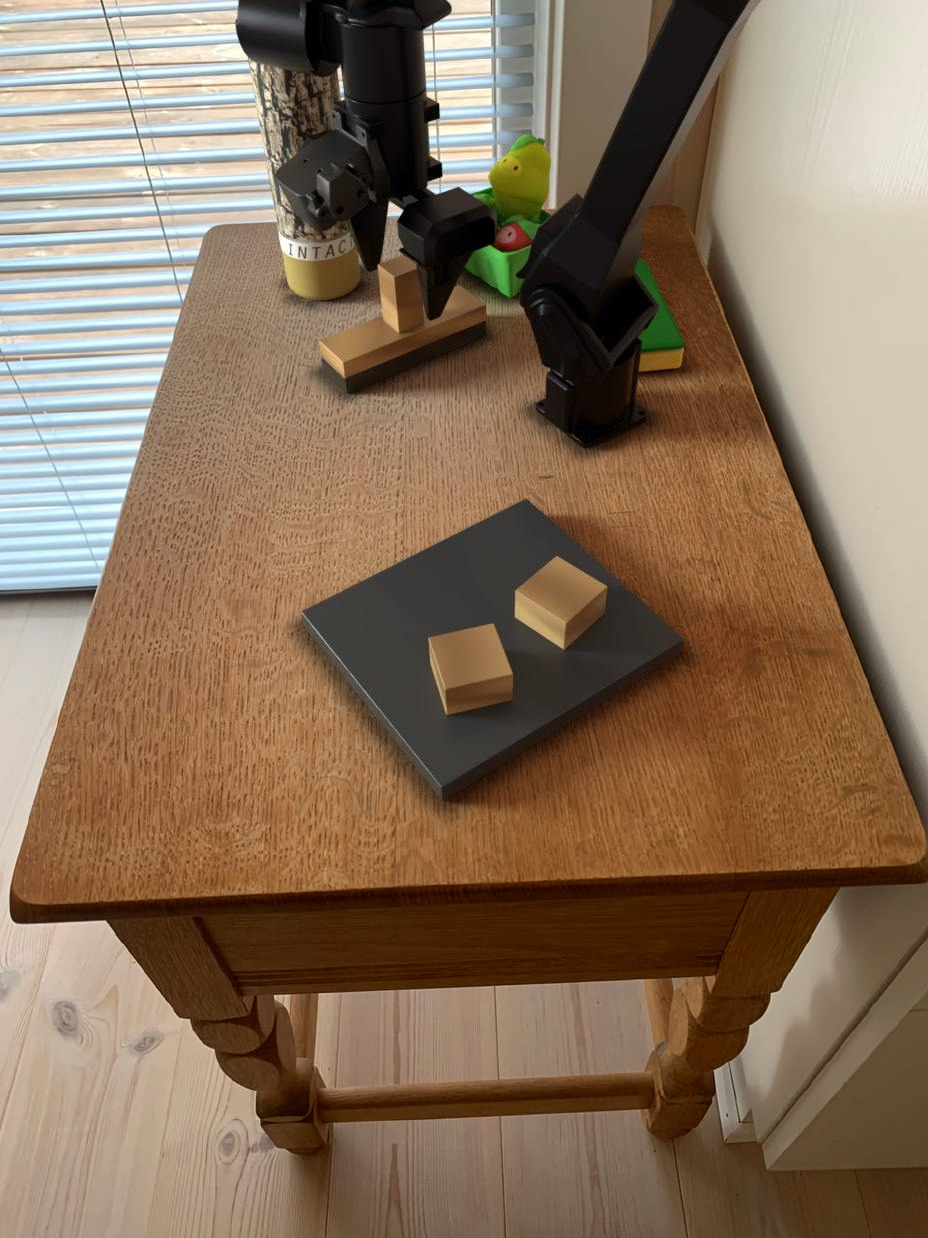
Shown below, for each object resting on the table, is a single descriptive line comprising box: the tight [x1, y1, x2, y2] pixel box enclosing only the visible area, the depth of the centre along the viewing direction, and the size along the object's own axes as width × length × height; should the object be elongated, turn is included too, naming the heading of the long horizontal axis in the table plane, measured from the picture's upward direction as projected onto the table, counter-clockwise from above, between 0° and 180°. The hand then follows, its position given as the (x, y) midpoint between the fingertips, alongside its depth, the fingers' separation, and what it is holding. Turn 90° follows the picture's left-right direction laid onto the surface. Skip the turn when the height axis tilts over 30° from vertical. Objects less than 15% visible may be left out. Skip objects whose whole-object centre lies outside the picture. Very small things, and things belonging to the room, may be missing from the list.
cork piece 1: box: [428, 624, 513, 715], centre depth 57 cm, size 4×4×2 cm
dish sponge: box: [634, 258, 686, 373], centre depth 85 cm, size 7×14×2 cm, turn 7°
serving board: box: [300, 498, 685, 802], centre depth 62 cm, size 18×16×2 cm
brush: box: [318, 254, 487, 395], centre depth 81 cm, size 14×4×8 cm, turn 125°
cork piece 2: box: [515, 556, 607, 650], centre depth 61 cm, size 4×4×2 cm
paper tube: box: [237, 0, 361, 301], centre depth 82 cm, size 7×7×25 cm
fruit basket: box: [464, 133, 553, 298], centre depth 88 cm, size 11×9×11 cm
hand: (402, 293), depth 79 cm, fingers open, 9 cm apart
